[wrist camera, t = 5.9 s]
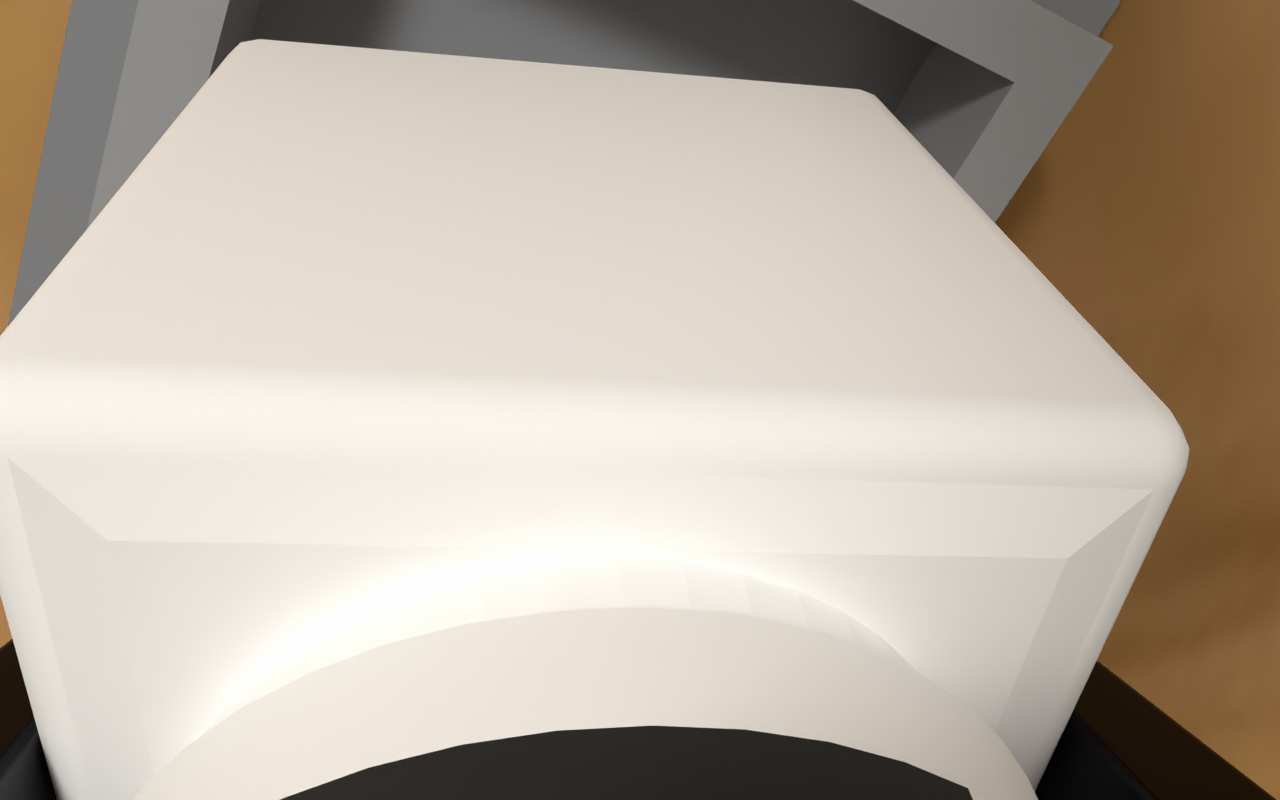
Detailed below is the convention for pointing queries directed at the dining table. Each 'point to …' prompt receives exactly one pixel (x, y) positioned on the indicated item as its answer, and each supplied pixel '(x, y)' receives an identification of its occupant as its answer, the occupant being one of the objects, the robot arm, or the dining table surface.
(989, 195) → the bottle caddy
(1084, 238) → the dining table surface
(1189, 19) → the dining table surface
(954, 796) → the medicine bottle
